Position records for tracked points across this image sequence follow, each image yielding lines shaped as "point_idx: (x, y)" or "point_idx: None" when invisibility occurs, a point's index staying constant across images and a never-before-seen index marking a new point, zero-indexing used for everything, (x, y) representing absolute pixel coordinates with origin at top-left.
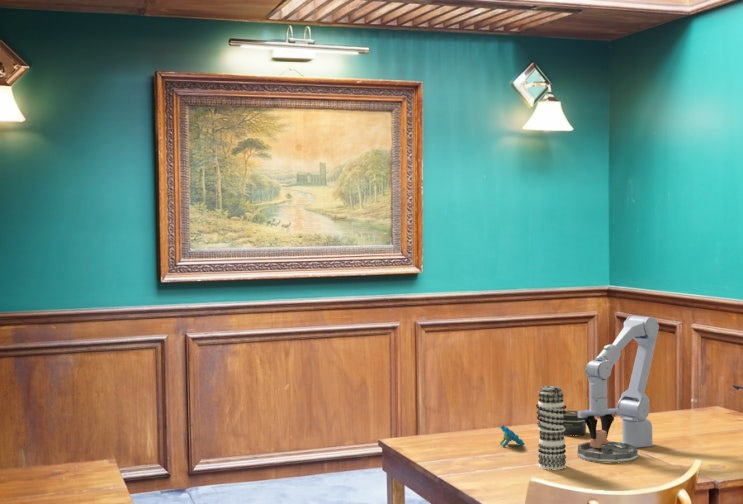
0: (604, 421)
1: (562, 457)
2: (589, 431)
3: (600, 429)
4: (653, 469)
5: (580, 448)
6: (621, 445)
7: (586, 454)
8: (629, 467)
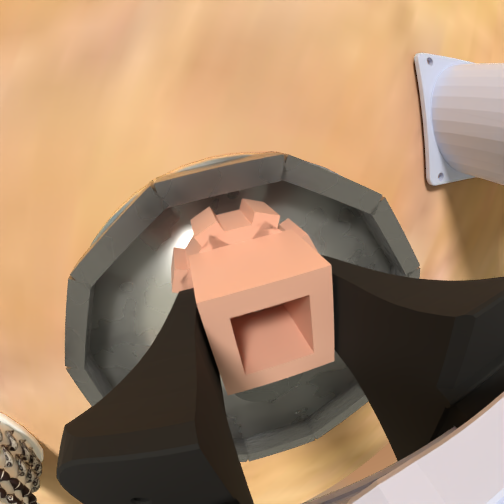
0: (395, 389)
1: (31, 489)
2: (165, 325)
3: (324, 270)
4: (323, 462)
5: (81, 369)
6: (387, 250)
7: None
8: (265, 461)
